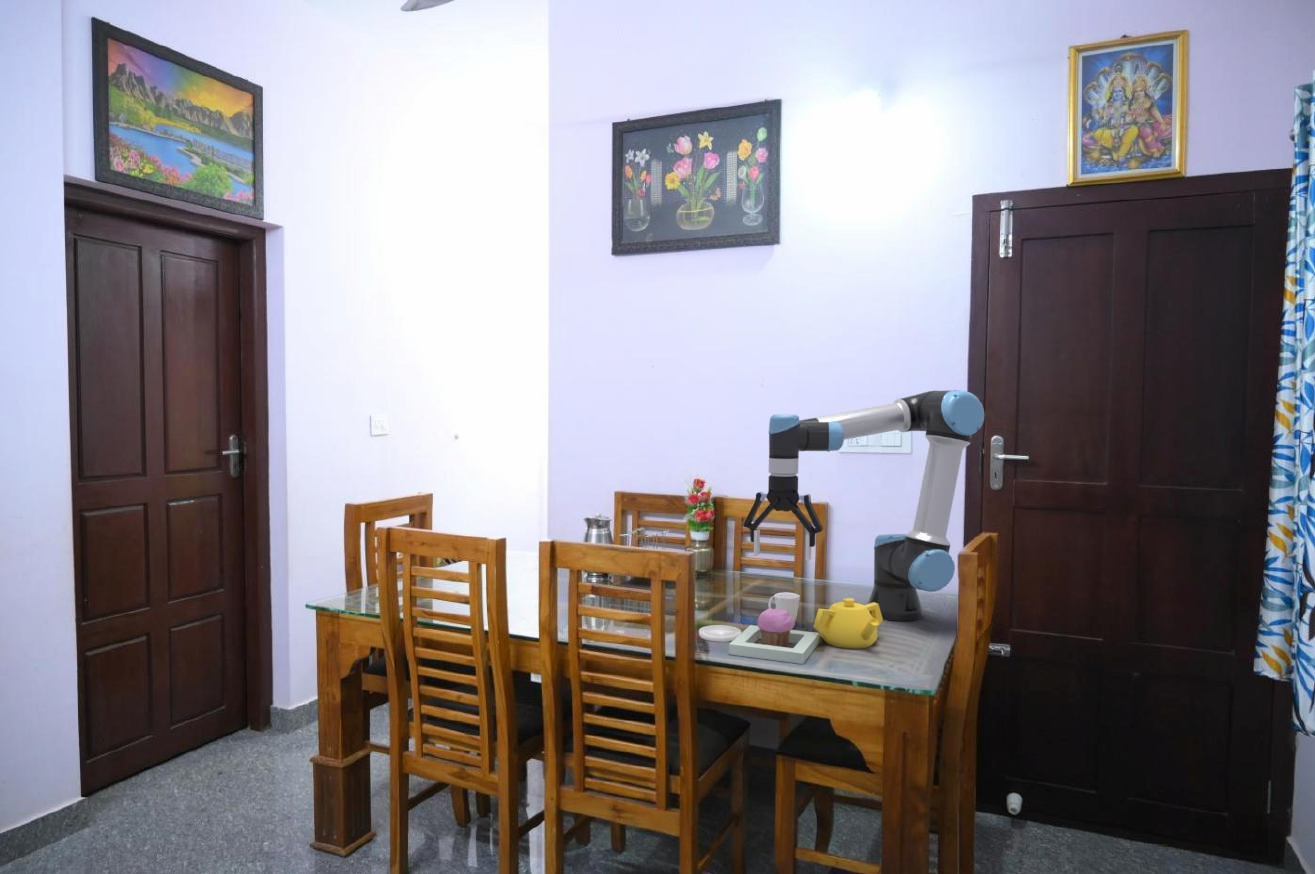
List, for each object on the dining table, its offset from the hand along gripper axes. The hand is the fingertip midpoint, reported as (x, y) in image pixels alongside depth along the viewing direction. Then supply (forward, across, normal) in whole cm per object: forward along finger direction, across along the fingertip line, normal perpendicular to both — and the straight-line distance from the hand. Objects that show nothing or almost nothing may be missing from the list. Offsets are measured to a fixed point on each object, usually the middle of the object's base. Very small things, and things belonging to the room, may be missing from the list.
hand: (782, 557), depth 211 cm
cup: (+21, +3, -13) cm, 25 cm away
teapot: (+21, -18, -2) cm, 28 cm away
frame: (+21, -1, +10) cm, 23 cm away
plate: (+21, +15, +5) cm, 26 cm away
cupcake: (+21, -1, +10) cm, 23 cm away
